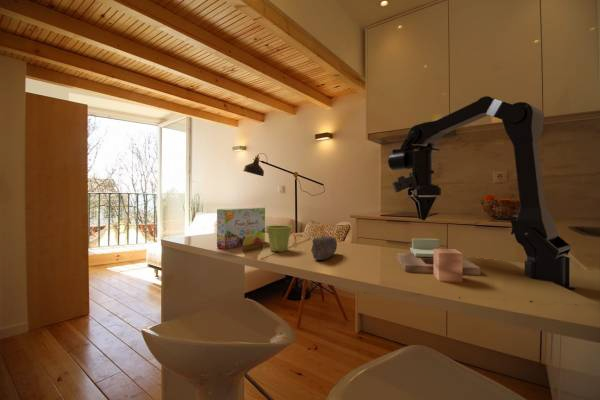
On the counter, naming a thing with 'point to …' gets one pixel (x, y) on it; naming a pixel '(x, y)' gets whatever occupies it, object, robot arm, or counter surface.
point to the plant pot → (278, 237)
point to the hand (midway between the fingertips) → (421, 219)
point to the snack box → (240, 227)
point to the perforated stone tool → (323, 247)
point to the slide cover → (424, 247)
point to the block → (448, 265)
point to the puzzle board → (431, 264)
